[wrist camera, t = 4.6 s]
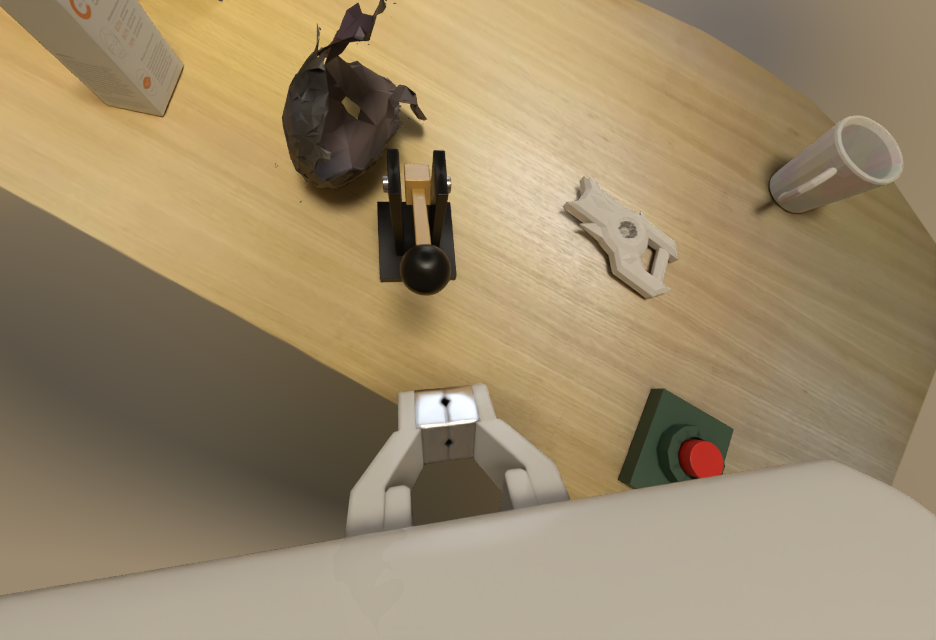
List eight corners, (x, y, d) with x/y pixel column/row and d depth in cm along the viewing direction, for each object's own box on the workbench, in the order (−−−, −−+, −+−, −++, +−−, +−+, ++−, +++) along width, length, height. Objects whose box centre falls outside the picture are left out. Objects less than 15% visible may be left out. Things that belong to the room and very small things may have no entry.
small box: (129, 53, 41) (4, -97, 28) (185, 66, 42) (87, -75, 29) (105, 106, 39) (-42, -30, 27) (163, 118, 40) (48, -8, 27)
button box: (689, 520, 39) (720, 534, 35) (617, 479, 39) (640, 489, 35) (718, 427, 42) (748, 430, 39) (651, 388, 42) (675, 387, 38)
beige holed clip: (557, 218, 41) (592, 164, 44) (545, 230, 44) (578, 180, 47) (671, 303, 42) (698, 245, 45) (651, 309, 45) (678, 255, 48)
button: (704, 483, 37) (717, 488, 35) (673, 466, 37) (685, 469, 35) (714, 449, 38) (727, 452, 36) (684, 432, 38) (696, 434, 36)
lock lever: (452, 304, 24) (455, 268, 21) (401, 306, 23) (398, 269, 21) (435, 194, 32) (436, 157, 30) (397, 193, 32) (395, 156, 29)
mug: (828, 206, 54) (918, 165, 44) (771, 245, 50) (856, 209, 41) (788, 155, 55) (867, 104, 45) (730, 189, 51) (802, 142, 42)
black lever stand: (455, 279, 41) (474, 225, 28) (381, 282, 40) (363, 225, 26) (449, 207, 43) (464, 124, 30) (378, 206, 42) (361, 119, 28)
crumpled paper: (339, 69, 44) (258, 189, 40) (314, -69, 30) (185, 94, 26) (433, 124, 46) (365, 244, 42) (451, 18, 32) (351, 183, 28)
